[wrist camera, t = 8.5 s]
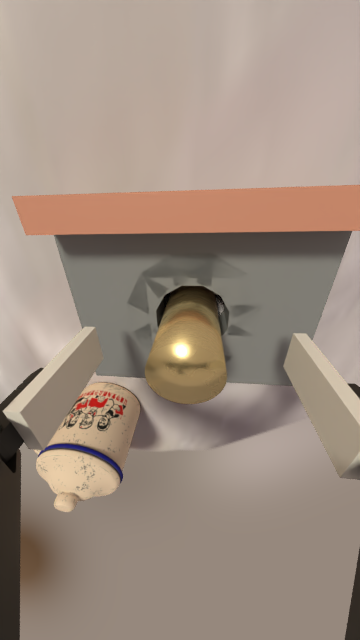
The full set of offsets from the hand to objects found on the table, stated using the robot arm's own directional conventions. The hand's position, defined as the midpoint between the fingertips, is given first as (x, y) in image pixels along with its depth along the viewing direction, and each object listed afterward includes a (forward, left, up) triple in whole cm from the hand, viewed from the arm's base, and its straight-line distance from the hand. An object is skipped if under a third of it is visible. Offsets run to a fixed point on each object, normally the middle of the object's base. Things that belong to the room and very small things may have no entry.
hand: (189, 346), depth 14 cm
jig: (0, 0, -7) cm, 7 cm away
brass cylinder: (0, 0, -7) cm, 7 cm away
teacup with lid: (-13, -16, -7) cm, 22 cm away
